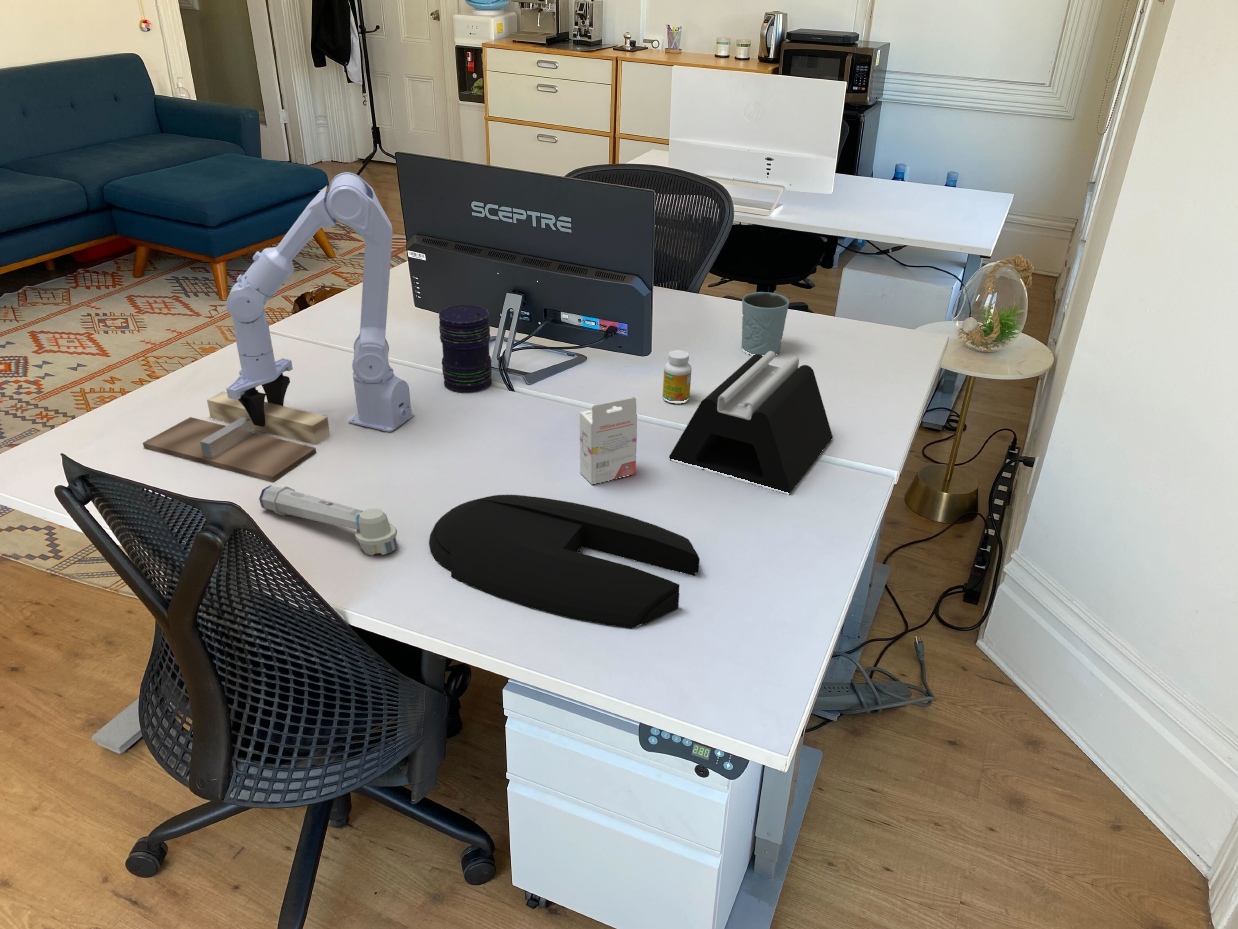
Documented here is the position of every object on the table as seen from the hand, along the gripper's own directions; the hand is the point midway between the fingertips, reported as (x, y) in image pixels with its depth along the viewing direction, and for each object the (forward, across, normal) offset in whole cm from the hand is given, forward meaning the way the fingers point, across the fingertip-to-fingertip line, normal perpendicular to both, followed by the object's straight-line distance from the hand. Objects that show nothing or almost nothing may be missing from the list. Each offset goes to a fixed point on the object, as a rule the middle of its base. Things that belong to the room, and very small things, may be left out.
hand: (268, 419), depth 168 cm
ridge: (+1, +10, 0) cm, 10 cm away
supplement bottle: (+2, -43, +64) cm, 77 cm away
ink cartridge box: (+2, -10, +63) cm, 64 cm away
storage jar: (+2, -32, +23) cm, 39 cm away
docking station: (+2, +15, +66) cm, 67 cm away
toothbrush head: (+2, +23, +31) cm, 39 cm away
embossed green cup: (+2, -75, +73) cm, 105 cm away
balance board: (+1, +10, 0) cm, 10 cm away
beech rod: (+2, 0, 0) cm, 2 cm away
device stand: (+2, -29, +84) cm, 88 cm away
